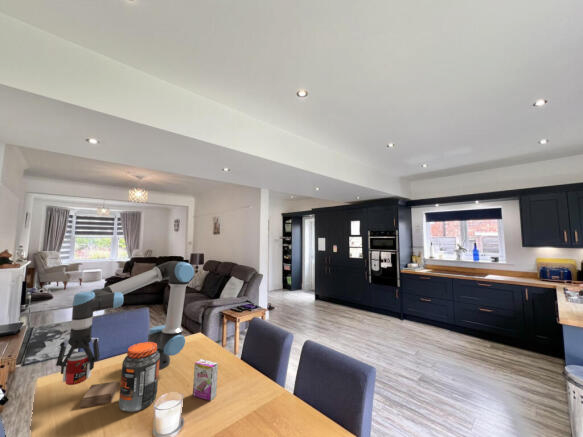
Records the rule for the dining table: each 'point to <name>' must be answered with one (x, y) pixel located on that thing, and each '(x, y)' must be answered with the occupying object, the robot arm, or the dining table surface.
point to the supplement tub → (139, 377)
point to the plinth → (100, 394)
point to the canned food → (76, 368)
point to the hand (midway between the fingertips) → (76, 378)
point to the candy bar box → (205, 379)
